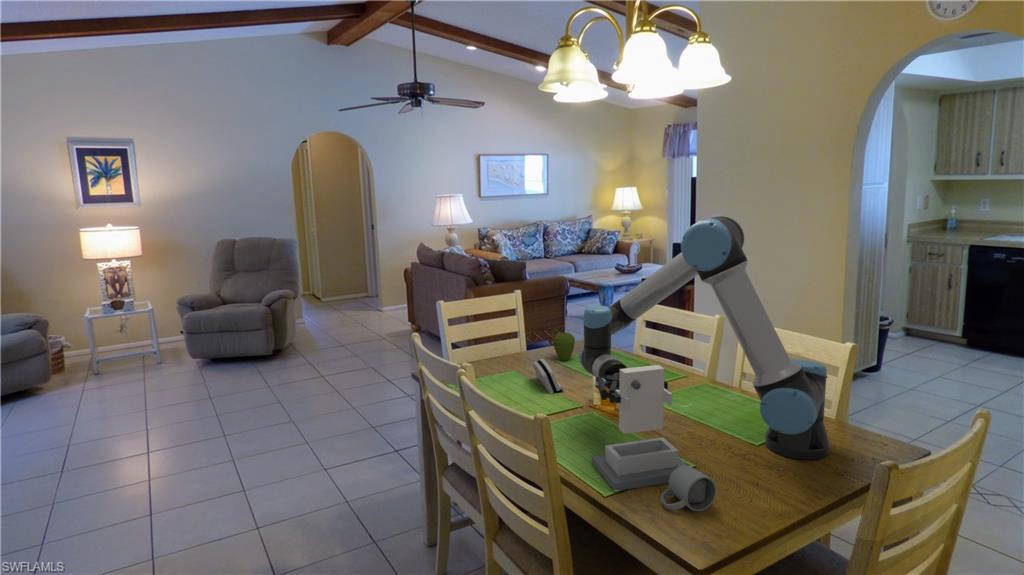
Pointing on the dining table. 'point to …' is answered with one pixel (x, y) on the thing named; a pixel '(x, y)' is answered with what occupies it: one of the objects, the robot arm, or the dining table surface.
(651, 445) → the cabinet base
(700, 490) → the ceramic mug
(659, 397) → the cabinet door
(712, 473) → the dining table surface
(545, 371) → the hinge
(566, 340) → the green vase
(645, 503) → the dining table surface
